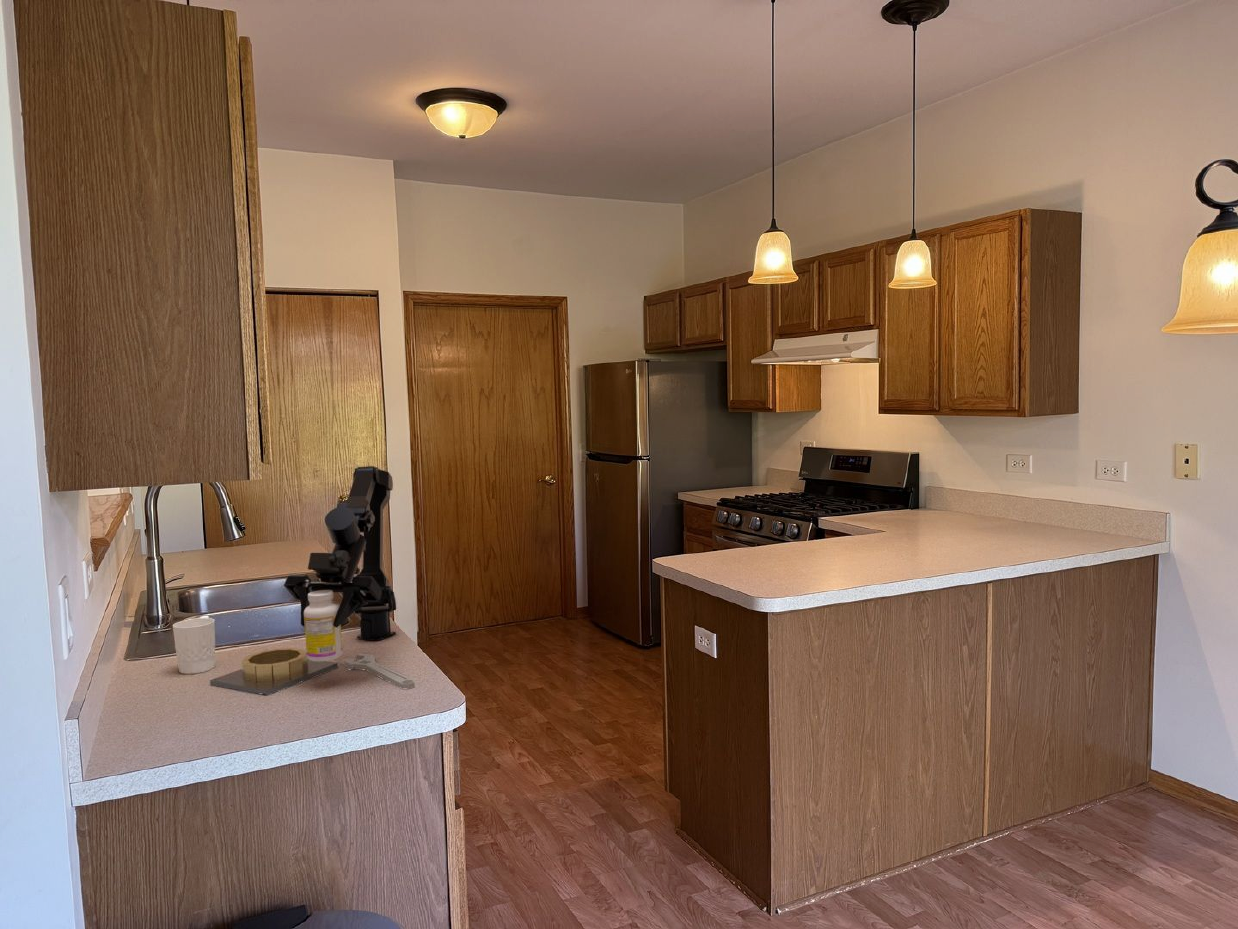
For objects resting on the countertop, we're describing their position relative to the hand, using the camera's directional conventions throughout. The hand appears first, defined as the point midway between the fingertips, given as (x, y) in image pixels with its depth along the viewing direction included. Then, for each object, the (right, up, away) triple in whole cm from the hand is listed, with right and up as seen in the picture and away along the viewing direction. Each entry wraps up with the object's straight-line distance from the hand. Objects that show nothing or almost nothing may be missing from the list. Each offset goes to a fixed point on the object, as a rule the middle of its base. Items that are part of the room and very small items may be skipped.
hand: (318, 625), depth 165 cm
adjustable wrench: (+9, -12, +8) cm, 17 cm away
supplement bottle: (+1, -7, +2) cm, 7 cm away
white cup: (-31, -12, +15) cm, 37 cm away
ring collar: (-12, -12, +9) cm, 19 cm away
